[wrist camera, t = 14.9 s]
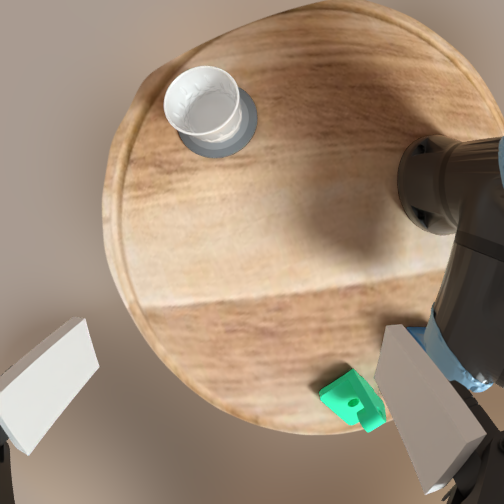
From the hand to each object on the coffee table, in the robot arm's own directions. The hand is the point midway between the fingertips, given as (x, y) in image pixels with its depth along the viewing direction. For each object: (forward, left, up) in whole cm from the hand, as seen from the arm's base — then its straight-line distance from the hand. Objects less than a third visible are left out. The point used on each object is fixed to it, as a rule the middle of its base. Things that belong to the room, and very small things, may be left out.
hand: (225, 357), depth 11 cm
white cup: (+5, -16, -28) cm, 33 cm away
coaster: (+5, -16, -29) cm, 33 cm away
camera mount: (-17, +29, -29) cm, 45 cm away
